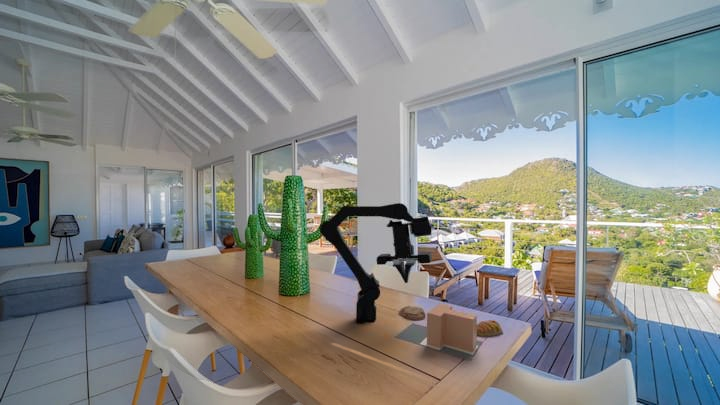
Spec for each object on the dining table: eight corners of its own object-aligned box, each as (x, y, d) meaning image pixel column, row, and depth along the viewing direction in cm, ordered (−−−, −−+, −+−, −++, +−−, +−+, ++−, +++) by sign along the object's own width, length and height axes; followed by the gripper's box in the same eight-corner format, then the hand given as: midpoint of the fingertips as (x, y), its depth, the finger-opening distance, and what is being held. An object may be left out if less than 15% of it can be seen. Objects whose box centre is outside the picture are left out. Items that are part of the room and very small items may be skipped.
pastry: (483, 341, 87) (483, 328, 87) (466, 332, 93) (466, 320, 94) (504, 335, 92) (504, 323, 92) (486, 327, 98) (487, 316, 98)
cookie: (408, 324, 99) (408, 315, 99) (394, 313, 109) (394, 305, 109) (433, 320, 103) (433, 312, 103) (416, 310, 113) (416, 302, 113)
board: (394, 338, 88) (394, 336, 88) (412, 324, 98) (412, 323, 98) (471, 363, 75) (471, 360, 75) (482, 343, 85) (483, 341, 85)
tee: (426, 344, 83) (427, 312, 84) (439, 332, 92) (439, 303, 92) (469, 357, 76) (470, 323, 77) (479, 343, 85) (479, 312, 85)
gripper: (431, 233, 106) (436, 276, 106) (382, 237, 113) (387, 276, 113) (427, 238, 96) (432, 285, 96) (373, 241, 103) (378, 285, 103)
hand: (406, 282), depth 102 cm, fingers closed
